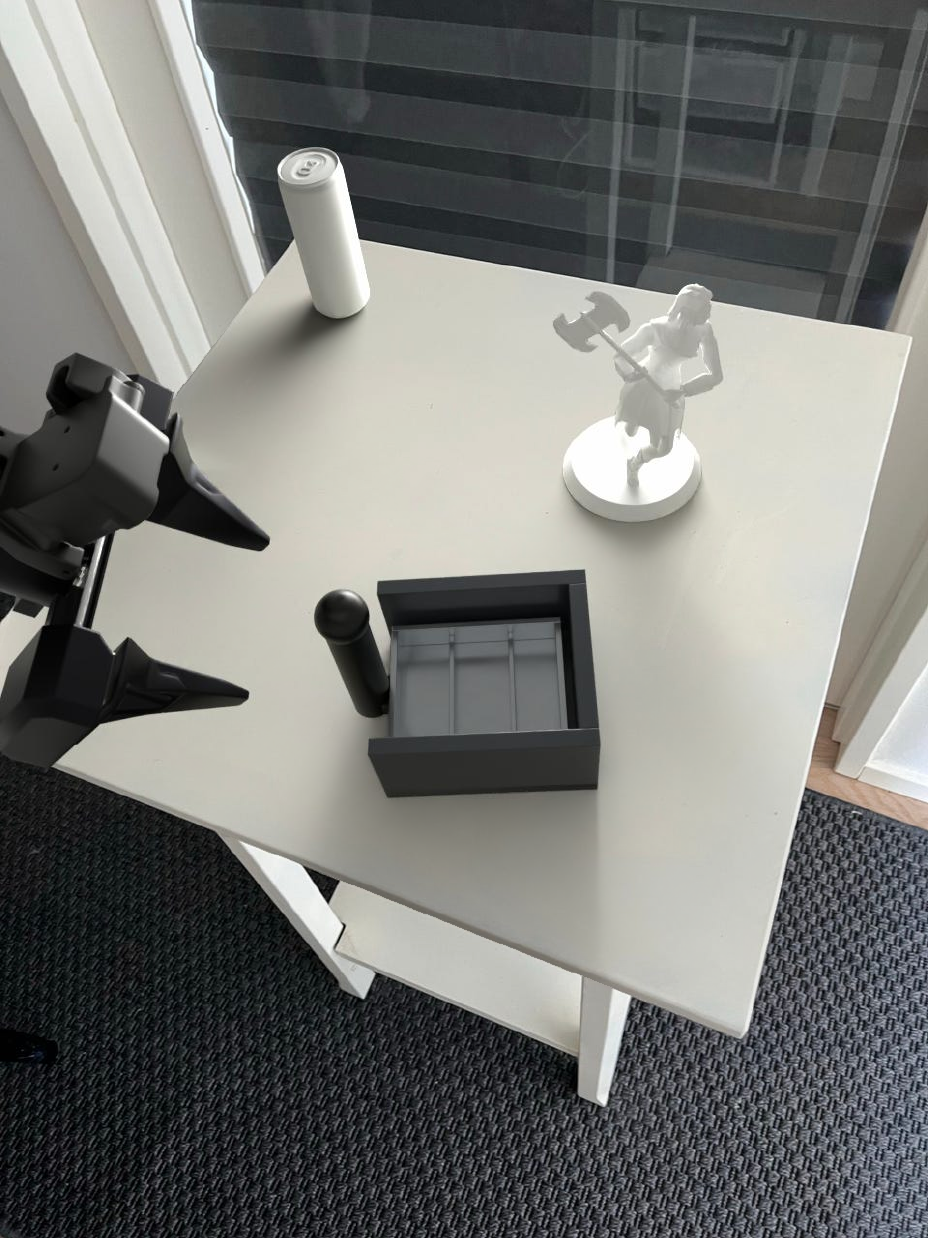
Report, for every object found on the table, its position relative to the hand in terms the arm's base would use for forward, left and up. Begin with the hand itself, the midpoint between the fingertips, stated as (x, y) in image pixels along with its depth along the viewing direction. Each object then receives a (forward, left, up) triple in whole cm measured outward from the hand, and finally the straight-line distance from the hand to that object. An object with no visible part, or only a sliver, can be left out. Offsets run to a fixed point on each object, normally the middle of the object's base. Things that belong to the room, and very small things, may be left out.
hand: (256, 617), depth 47 cm
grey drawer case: (+11, 0, -11) cm, 16 cm away
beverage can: (-1, +38, -11) cm, 40 cm away
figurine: (+21, +18, -11) cm, 30 cm away
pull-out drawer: (+9, 0, -10) cm, 14 cm away
